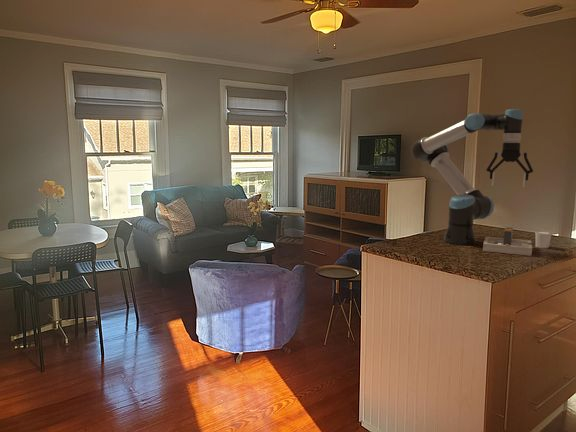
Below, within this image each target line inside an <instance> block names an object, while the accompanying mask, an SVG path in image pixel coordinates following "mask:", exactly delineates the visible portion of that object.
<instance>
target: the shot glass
mask: <svg viewBox="0 0 576 432" xmlns="http://www.w3.org/2000/svg"><path fill="white" fill-rule="evenodd" d="M551 238H552V233H551V232H547V231H535V239H534V240H535V247H536V248H540V249H549V248H550V243H551Z"/></svg>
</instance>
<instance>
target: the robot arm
mask: <svg viewBox="0 0 576 432" xmlns="http://www.w3.org/2000/svg"><path fill="white" fill-rule="evenodd" d="M523 115H524V112H523V110H522V109H521V108H511V109H506V110H505V113H504V114H501V113H499V114H491V113H490V114H487V113H478V112H476V113H470V114H468V115H467V116H466V118H465V119H463V120H461V121H459V122H457V123H455V124H453V125H451V126H448V127H447V128H445V129H442V130H440V131H438V132H437V133H434V134H432V135H430V136H429V137H428V136H424V137H422V138H420V139H417V140H416V141H415V142H413V144H411V148H410V149H411V150H410V152H411V155H412V157H413V158H414V159H415V160H417V161H420V162H427V163H428V164H429V165H430V166H431V167H432V168H436V169H437V171H438V172H439V174H440V176H442V177H443V179H445V181H446V183H448V185H449V186H450V188H451V189H452V191H453V192H454V193H455V194H456V195H453V196H452V197H450V200H449V204H448V205H449V208H448V209H449V211H448V224H447V228H446V231H445V233H444V236H443V241H444V242H445V243H449V244H453V245H461V246H462V245H468V246H469V245H475V244H476V241H477V238H476V234H475V230H474V220H483V219H486V218H489V217H490V216H491V215H492V214H493V212H494V210H495V209H494V207H495V204H494V201H493V199H492V198H491V197H490V196H488V195H484V194H483V193H482V192H481V191H480V190H479V189H475V187H473V185H472V184H471V183H470V182H469V180H468V179H467V178H466V177H465V176H464V175H463V173H462V172H461V171H460V170H459V168H458V167H457V166H456V164H454V162H453V161H452V160H451V158H450V153H449V146H448V145H449V144H451V143H454V142H455V141H458V140H460V139H462V138H464V137H466V136H469V135H471V134H474V133H476V132H478V131H503V139H502V141H503V143H502V151H501V152H494V156H493V158H492V160H491V162H490V163H489V165H488V166H487V168H486V172H489V179H490V180H491V186H492V187H494V185H495V171H496V170H497V169H498V167H499V166H501V165H502V164H503V163H504V162H507V163H514V162H516V163H517V164H518V166H519V167H520V168H521V169H522V170H523V172H524V174H523V181H522V188H525V187H526V186H525V185H526V181H528V180H529V174H531V173H533V172H534V169H533V168H532V166H531V163H530V162H529V159H528V153H527V152H520V151H521V139H522V127H523V126H522V125H523V120H524V118H523V117H524V116H523ZM500 156H501V158H502V159H501V160H500V161H499V162H498V163H497V164H496V165H495V166H494V167H493V168H492V166H493V165H494V163H495V162H496V160H497V158H500ZM520 156H521V157H522V158H523V159H524V161H525V163H526V165H527V168H528V169H527V168H526V167H525V165H524V164H523V163H522V162H521V161H520V160H519V158H520Z"/></svg>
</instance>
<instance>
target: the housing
mask: <svg viewBox="0 0 576 432" xmlns="http://www.w3.org/2000/svg"><path fill="white" fill-rule="evenodd" d="M496 240H504V237H494V236H485V237H484V241H483V245H482V251H483V252H489V253H501V254H508V255H509V254H510V255H518V256H527V257H528V256H529V257H532V253H533V243H532V240H530V239H529V240H528V239H520V238H519V239H517V238H512V241H515V242H519V243H521V244H522V246H511V245H509V244H506V245H500V244H494V241H496Z"/></svg>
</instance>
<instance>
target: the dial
mask: <svg viewBox="0 0 576 432" xmlns="http://www.w3.org/2000/svg"><path fill="white" fill-rule="evenodd" d="M513 228H514V227H507V226H506V227H504V234H503V236H504V237H503V238H504V240H496V241H494V244H500V245H506V244H509V245H511V246H522V244H521V243H519V242H515V241H512V239H513V230H514V229H513Z"/></svg>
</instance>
